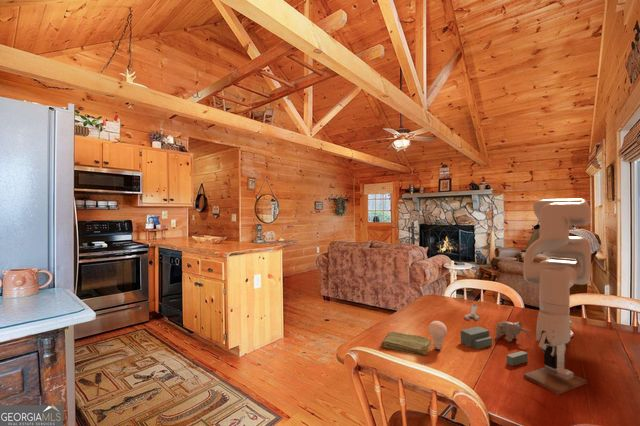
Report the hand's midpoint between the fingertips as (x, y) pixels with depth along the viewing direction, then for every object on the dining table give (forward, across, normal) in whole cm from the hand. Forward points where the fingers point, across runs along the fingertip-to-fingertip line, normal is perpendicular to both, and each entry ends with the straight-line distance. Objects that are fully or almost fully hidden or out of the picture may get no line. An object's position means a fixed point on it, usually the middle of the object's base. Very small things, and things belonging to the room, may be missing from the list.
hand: (554, 364), depth 95 cm
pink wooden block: (+2, 0, +1) cm, 3 cm away
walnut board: (+5, 0, 0) cm, 5 cm away
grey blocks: (+5, 0, -22) cm, 22 cm away
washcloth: (+6, +27, -39) cm, 48 cm away
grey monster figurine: (+5, -16, -25) cm, 30 cm away
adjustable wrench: (+6, -29, -54) cm, 62 cm away
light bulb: (+5, +18, -31) cm, 36 cm away
